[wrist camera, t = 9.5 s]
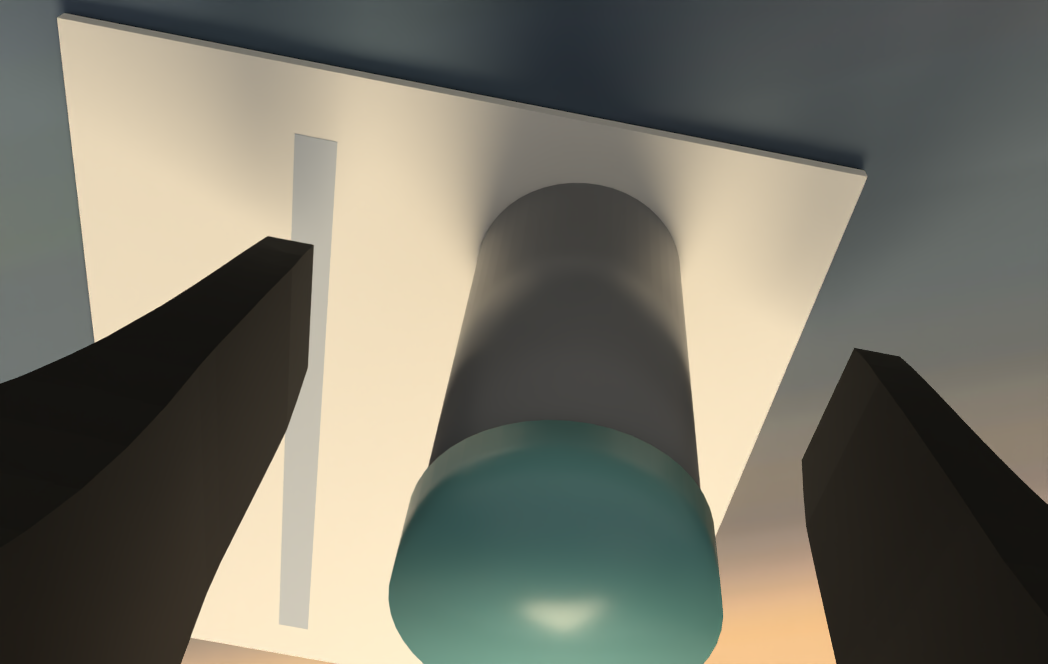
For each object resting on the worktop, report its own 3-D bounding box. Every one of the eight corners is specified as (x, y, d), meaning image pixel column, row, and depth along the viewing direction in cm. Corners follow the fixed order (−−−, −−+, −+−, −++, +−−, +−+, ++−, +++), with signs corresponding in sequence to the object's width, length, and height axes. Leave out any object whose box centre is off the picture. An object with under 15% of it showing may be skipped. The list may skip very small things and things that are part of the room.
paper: (638, 708, 21) (638, 717, 21) (131, 618, 20) (127, 626, 20) (864, 170, 13) (867, 177, 13) (64, 12, 13) (56, 17, 13)
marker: (656, 376, 15) (673, 735, 10) (458, 339, 15) (376, 683, 10) (713, 199, 13) (768, 532, 8) (487, 156, 13) (403, 466, 8)
